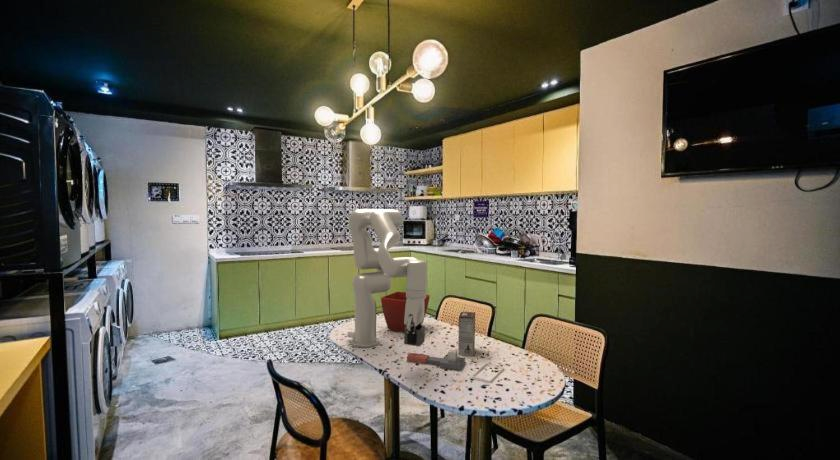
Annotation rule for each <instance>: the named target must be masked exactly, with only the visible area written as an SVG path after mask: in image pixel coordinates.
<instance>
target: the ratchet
mask: <svg viewBox="0 0 840 460" xmlns="http://www.w3.org/2000/svg"><path fill="white" fill-rule="evenodd" d="M406 362H411V363H416V364H417V363H418V364H425V365H435V366H439V369H447V370H453V371H462V368H463V367H464V365H465V364H466V357H461V356H460V357H459V356H458V350H457V349H456V350H454V349H449V350H448V352H447V355H444V356H443V357H437V356H430V355H429V354H423V353H422V354H421V353H417V352H416V353H415V352H410V353H408V355H407V356H406Z"/></svg>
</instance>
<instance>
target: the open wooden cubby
mask: <svg viewBox="0 0 840 460" xmlns="http://www.w3.org/2000/svg"><path fill="white" fill-rule="evenodd" d="M411 325H414V324H411ZM411 328H413V329H414V327H411ZM403 333H404V337H403V338H404V339H403V340H404V341H403V344H404V345H405V346H413V347H421V346H422V345H423V343H424V342H425V337H426V334H425V333H426V325H423V324H422V325H417V326H416V331H415V334H416V344H415V345H413V344H408V343H407V327H406V328H405V332H403Z"/></svg>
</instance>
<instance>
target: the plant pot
mask: <svg viewBox="0 0 840 460" xmlns="http://www.w3.org/2000/svg"><path fill="white" fill-rule="evenodd" d="M430 296H431V295H430V294H426V298H425V299H424V319H423V321H422V324H423V323H424V322H425V321H424V320H425V318H426V315H427V310H428V306H429V303H430V302H429V301H430ZM406 300H407V298H406V291H395V292H392V293H390V294H386V295H384V296H380V301H381V302H380V303H381V308H382V312H383V317H384V320H385V323H386V326H387V329H388V331H392V332H398V333H399V332H400V333H404V332H405V328H406V327H407V325H405V324H404V317H405V306H406ZM412 324H414V323H412Z"/></svg>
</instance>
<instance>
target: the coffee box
mask: <svg viewBox="0 0 840 460" xmlns="http://www.w3.org/2000/svg"><path fill="white" fill-rule="evenodd" d="M475 339H476V312H475V311H461V312H460V313H459V316H458V344H457V345H458V346H457V347H458V348H457V349H458V350H457V355H459V356H460V355H462V356H474V353H475V349H476V348H475V347H476V346H475V345H476V344H475V343H476V341H475Z"/></svg>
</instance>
